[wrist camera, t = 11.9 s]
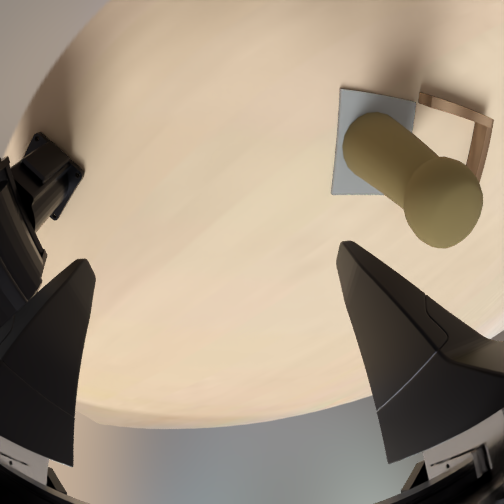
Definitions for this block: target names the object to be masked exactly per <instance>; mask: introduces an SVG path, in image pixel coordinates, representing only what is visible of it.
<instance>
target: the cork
mask: <svg viewBox="0 0 504 504" xmlns="http://www.w3.org/2000/svg"><path fill="white" fill-rule="evenodd" d="M342 149H343V158H344V160H345V162H346V164H347V167H348V168H349V169H350V170H351V171H352V172H353V173H354V174H355V175H357V176H358V177H360V178H361V179H363V180H364V181H365V182H367V183H368V184H370V185H371V186H373V187H374V188H376V189H377V190H378V191H380V192H381V193H383V194H384V195H385V196H387V197H388V198H389V199H391V200H392V201H394V202H395V203H396V204H398V205H399V206H400V207H401V208H403V209H404V212H405V217H406V220H407V222H408V224H409V226H410V227H411V229H412V230H413V232H414V233H415V234H416V236H417V237H418V238H419V239H420V240H421V241H423V242H424V243H426V244H428V245H430V246H432V247H436V248H449V247H452V246H454V245H456V244H457V243H459V242H461V241H462V240H463V239H465V238H466V237H467V236H468V235H469V234H470V232H471V231H472V230H473V228H474V227H475V225H476V223H477V221H478V219H479V217H480V214H481V210H482V206H483V194H482V190H481V187H480V184H479V181H478V179H477V177H476V176H475V175H474V174H473V172H472V171H471V170H470V169H469V168H468V167H467V166H466V165H465V164H463V163H462V162H460V161H457V160H454V159H451V158H448V157H439V156H438V155H437V154H436V153H435V152H433V151H432V150H431V149H430V148H429V147H428V146H427V145H426V144H424V143H423V142H422V141H421V140H420V139H419V138H417V137H416V136H415V135H414V134H413V133H411V132H410V131H409V130H408V129H406V128H405V127H404V126H403V125H401V124H400V123H399V122H397V121H396V120H395V119H393V118H392V117H390V116H389V115H388V114H384V113H380V112H371V113H366V114H364V115H362V116H360V117H358V118H357V119H356V120H355V121H354V122H353V123H352V124H351V125H350V126H349V128H348V130H347V131H346V133H345V135H344V140H343V145H342Z"/></svg>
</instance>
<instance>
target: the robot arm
mask: <svg viewBox="0 0 504 504" xmlns="http://www.w3.org/2000/svg"><path fill="white" fill-rule="evenodd" d="M37 137H39V140H38V138H37ZM9 163H10V161H9V157H8V156H7V157H5V158H3V159H1V158H0V504H88V503H85V502H83V501H80V500H77V499H75V498H73V497H70V496H68V495H67V492H66V491H65V489H64V488H63V486H62V484H61V483H60V481H59V479H58V478H57V476H56V474H55V473H54V471H53V469H52V468H50V467H48V462H49V459H51V460H53V461H56V462H59V463H61V464H64V465H67V466H70V467H73V443H74V439H73V438H74V420H75V418H74V416H75V406H76V396H77V387H78V379H79V372H80V366H81V359H82V354H83V348H84V343H85V338H86V333H87V328H88V324H89V319H90V313H91V307H92V300H93V294H94V288H95V282H96V278H95V274H94V272H93V270H92V268H91V266H90V264H89V262H88V260H87V259H77V260H75V261H74V262H73V263H71V264H70V265H69V266H68V267H67V268H65V269H64V270H63V271H62V272H61V273H59V274H58V275H57V276H56V277H55V278H53V279H52V280H51V281H50V282H49V283H48V284H47V285H45V286H44V287H43V288H42V289H41V290H40V291H39V292H38V290H39V288H40V286H41V284H42V278H41V277H42V273H43V269H44V265H45V262H46V258H47V253H46V251H45V249H43V248H42V246H41V244H40V242H39V240H38V238H37V235H36V232H37V231H38V230H39V228H40V227H41V226H42V225H43V223H44V222H45V221H46V220H47V219H48V217H50V218H52V219H53V220H57V219H58V218H59V217H60V215H61V213H62V211H63V210H64V208H65V206H66V204H67V203H68V201H69V199H70V198H71V196H72V194H73V193H74V191H75V190H76V188H77V186H78V185H79V183H80V182H81V180H82V179H83V177H84V172H83V170H82V169H81V168H80V167H78V166H77V165H76V164H75V163H74V162H73V161H72V160H71V159H70V158H69V157H68V156H67V155H66V154H65V153H64V152H63V151H61V150H60V149H59V148H58V147H57V146H56V145H55V144H54V143H53V142H52V141H50V140H49V139H48V138H47V137H46V136H45V135H43V134H42V133H41V132H38V133H36V134H35V135H34V136H33V138H32V140H31V142H30V144H29V147H28V149H27V151H26V153H25V156H24V158H23V159H22V160H20V161H19V162H18V163H16V164H15V165H14V166H12V167H11V168H10V165H9ZM77 173H79V175H80V176H78V175H77ZM54 214H55V215H56V216H55V215H54ZM336 265H337V270H338V274H339V279H340V283H341V287H342V292H343V296H344V301H345V304H346V308H347V311H348V314H349V317H350V320H351V323H352V326H353V329H354V332H355V335H356V339H357V342H358V345H359V348H360V352H361V355H362V358H363V362H364V365H365V369H366V372H367V376H368V379H369V383H370V387H371V390H372V394H373V398H374V401H375V406H376V410H377V415H378V419H379V423H380V427H381V431H382V436H383V441H384V445H385V450H386V456H387V461H388V464H391V463H394V462H397V461H400V460H403V459H406V458H408V457H411V456H414V455H416V454H419V453H421V452H423V456H424V460H423V461H421V462H419V463H417V464H416V466H415V467H414V469H413V471H412V473H411V475H410V476H409V478H408V480H407V481H406V483H405V485H404V487H403V488H402V490H401V494H398V495H396V496H393V497H391V498H388V499H386V500H383V501H380V502H378V503H375V504H504V341H494V340H491V339H488V338H486V337H484V336H482V335H481V334H479V333H478V332H476V331H475V330H474V329H472V328H471V327H470V326H468V325H467V324H465V323H464V322H462V321H461V320H460V319H458V318H457V317H455V316H454V315H453V314H451V313H450V312H448V311H447V310H446V309H444V308H443V307H442V306H440V305H439V304H438V303H436V302H435V301H434V300H433V299H431V298H430V297H429V296H428V295H425V293H424V292H422V291H421V290H420V289H418V288H417V287H416V286H415V285H413V284H412V283H411V282H409V281H408V280H407V279H405V278H404V277H403V276H401V275H400V274H399V273H397V272H396V271H394V270H393V269H392V268H390V267H389V266H388V265H386V264H385V263H383V262H382V261H381V260H379V259H378V258H376V257H375V256H374V255H372V254H371V253H369V252H368V251H366V250H365V249H364V248H362V247H361V246H359V245H358V244H356V243H355V242H353V241H342V242H341V243H340V246H339V251H338V255H337V260H336ZM37 292H38V293H37Z"/></svg>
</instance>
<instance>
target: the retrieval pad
mask: <svg viewBox="0 0 504 504" xmlns="http://www.w3.org/2000/svg"><path fill="white" fill-rule="evenodd" d="M415 108H416V102H413V101H409V100H404V99H400V98H395V97H390V96H385V95H379V94H374V93H368V92H361V91H354V90H346V89H340V97H339V114H338V128H337V141H336V152H335V162H334V171H333V180H332V188H331V194H332V195H384V194H383V193H381V192H380V191H378V190H377V189H376V188H374V187H373V186H371V185H370V184H368V183H367V182H365V181H364V180H363V179H361V178H360V177H358V176H357V175H355V174H354V173H353V172H352V171H351V170H350V169H349V168H348V167H347V164H346V162H345V160H344V158H343V149H342V145H343V140H344V135H345V133H346V131H347V130H348V128H349V126H350V125H351V124H352V123H353V122H354V121H355V120H356V119H357V118H358V117H360V116H362V115H364V114H366V113H371V112H380V113H384V114H388V115H389V116H390V117H392V118H393V119H395V120H396V121H397V122H399V123H400V124H401V125H403V126H404V127H405V128H406V129H408V130H409V131H410V132H411V133H412V130H413V123H414V116H415Z"/></svg>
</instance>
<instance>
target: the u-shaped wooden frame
mask: <svg viewBox="0 0 504 504" xmlns="http://www.w3.org/2000/svg"><path fill="white" fill-rule="evenodd" d="M419 103H420V104H423V105H426V106H428V107H431V108H434V109H438V110H441V111H445V112H448V113H451V114H454V115H457V116H460V117H463V118H466V119H469V120H471V121H474V122H475V127H474V132H473V138H472V143H471V147H470V152H469V156H468V160H467V164H466V166H467V167H468V168H469V169H470V170H471V171H472V172H473V174H474V175H475V176H476V177H477V179H478V181H479V182H480V179H481V175H482V172H483V168H484V164H485V160H486V156H487V152H488V148H489V143H490V138H491V133H492V128H493V122H494V120H493V119H491V118H489V117H487V116H485V115H483V114H480V113H478V112H476V111H473V110H471V109H468V108H466V107H463V106H460V105H458V104H455V103H452V102H449V101H446V100H443V99H440V98H437V97H434V96H431V95H427V94H424V93H419Z"/></svg>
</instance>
